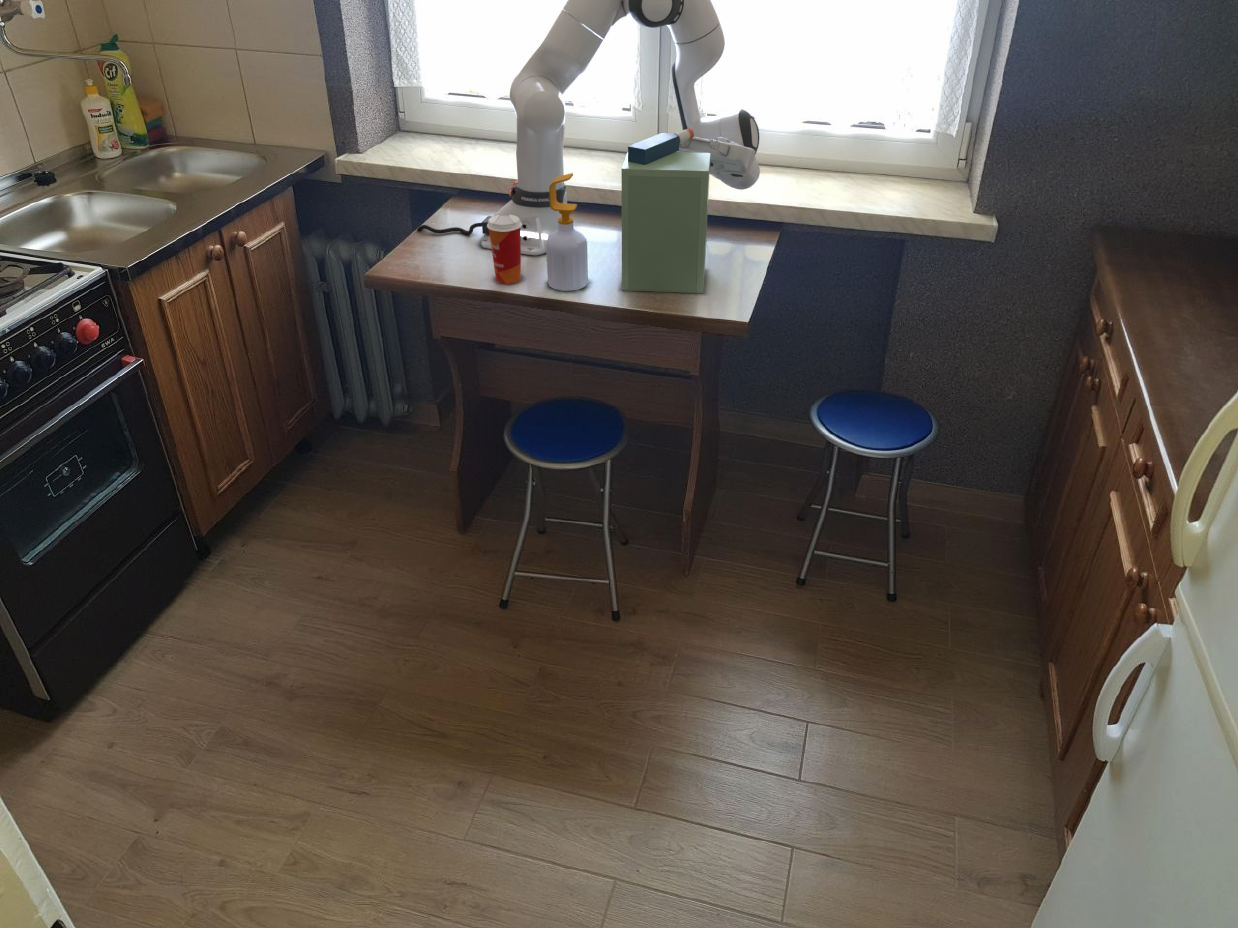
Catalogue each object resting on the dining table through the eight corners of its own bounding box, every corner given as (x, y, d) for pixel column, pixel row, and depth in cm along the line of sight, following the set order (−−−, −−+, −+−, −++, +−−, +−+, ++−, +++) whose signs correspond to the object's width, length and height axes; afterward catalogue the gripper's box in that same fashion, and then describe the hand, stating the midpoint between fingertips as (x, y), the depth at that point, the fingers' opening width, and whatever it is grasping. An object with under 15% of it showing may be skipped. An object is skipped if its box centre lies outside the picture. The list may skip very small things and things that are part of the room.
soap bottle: (583, 293, 211) (580, 182, 197) (543, 290, 213) (537, 180, 199) (592, 277, 218) (589, 170, 205) (553, 274, 220) (548, 167, 206)
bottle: (681, 139, 215) (681, 125, 213) (697, 142, 213) (698, 128, 211) (627, 161, 201) (627, 146, 200) (644, 165, 199) (645, 149, 197)
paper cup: (492, 273, 221) (486, 214, 213) (525, 272, 221) (521, 213, 213) (491, 286, 214) (485, 226, 206) (525, 285, 215) (521, 225, 207)
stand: (627, 267, 223) (627, 150, 208) (704, 270, 221) (710, 153, 206) (621, 290, 212) (621, 168, 197) (702, 293, 211) (708, 171, 196)
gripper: (687, 138, 232) (660, 119, 220) (761, 151, 222) (737, 133, 210) (680, 163, 233) (652, 146, 221) (753, 178, 223) (728, 161, 211)
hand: (694, 140), depth 216 cm, fingers open, 8 cm apart
